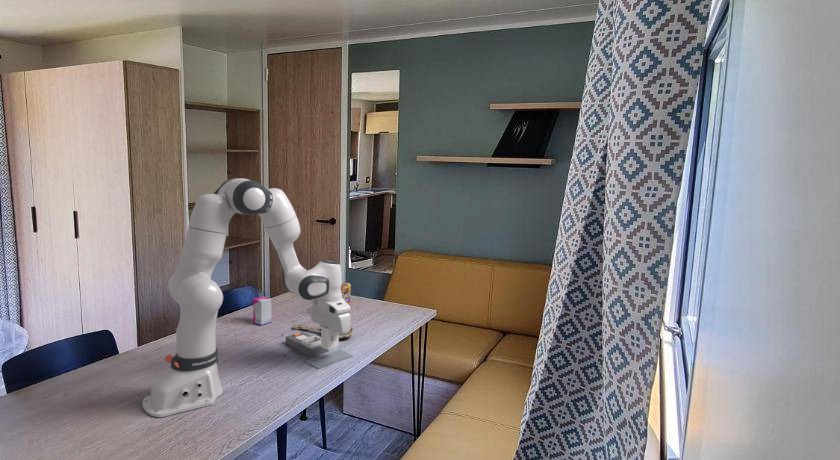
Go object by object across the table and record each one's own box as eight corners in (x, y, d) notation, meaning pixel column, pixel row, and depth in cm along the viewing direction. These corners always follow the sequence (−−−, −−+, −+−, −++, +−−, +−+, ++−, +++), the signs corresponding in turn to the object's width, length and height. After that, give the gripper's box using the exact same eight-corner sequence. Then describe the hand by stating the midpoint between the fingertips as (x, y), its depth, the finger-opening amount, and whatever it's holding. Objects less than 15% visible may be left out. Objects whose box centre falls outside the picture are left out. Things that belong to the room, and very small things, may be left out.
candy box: (335, 318, 227) (335, 286, 225) (329, 315, 230) (330, 284, 228) (350, 314, 233) (350, 283, 231) (345, 312, 236) (345, 281, 234)
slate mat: (317, 368, 173) (317, 367, 173) (305, 361, 178) (305, 360, 178) (352, 356, 184) (352, 355, 184) (339, 350, 190) (339, 349, 190)
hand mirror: (301, 318, 218) (358, 323, 206) (300, 332, 217) (358, 337, 206) (285, 320, 208) (345, 325, 196) (285, 334, 207) (345, 340, 196)
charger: (327, 349, 178) (327, 328, 176) (321, 346, 180) (321, 325, 179) (338, 346, 181) (338, 325, 180) (332, 343, 184) (332, 322, 183)
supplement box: (271, 322, 218) (271, 298, 217) (261, 326, 213) (260, 301, 212) (263, 319, 221) (263, 295, 220) (252, 323, 216) (252, 298, 215)
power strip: (311, 357, 183) (311, 346, 182) (285, 343, 195) (285, 333, 194) (328, 351, 188) (328, 340, 188) (302, 338, 201) (302, 328, 200)
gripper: (306, 298, 183) (306, 333, 185) (339, 311, 169) (339, 348, 171) (320, 295, 187) (320, 329, 190) (353, 307, 174) (353, 344, 176)
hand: (329, 338), depth 180 cm, fingers closed on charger, 4 cm apart
